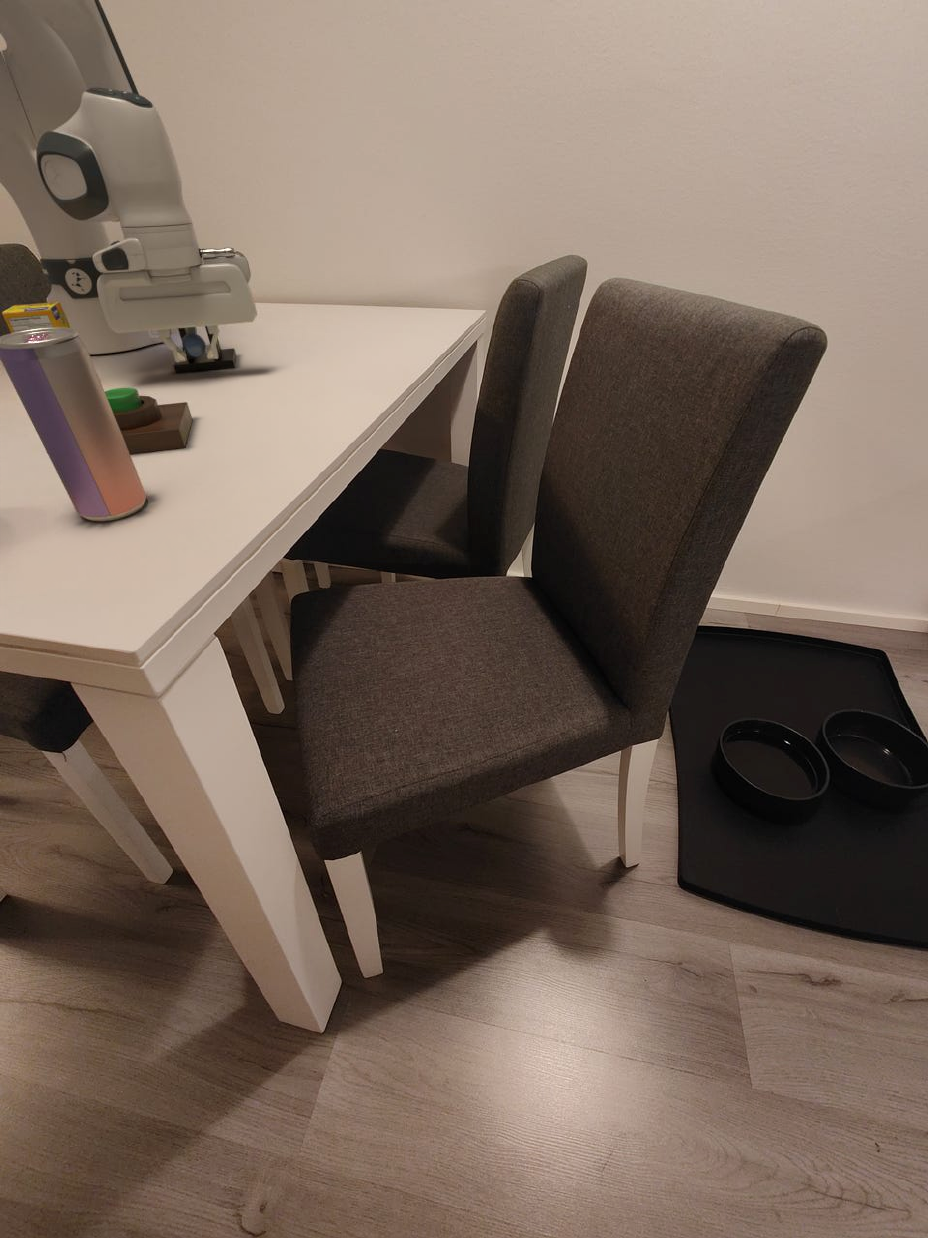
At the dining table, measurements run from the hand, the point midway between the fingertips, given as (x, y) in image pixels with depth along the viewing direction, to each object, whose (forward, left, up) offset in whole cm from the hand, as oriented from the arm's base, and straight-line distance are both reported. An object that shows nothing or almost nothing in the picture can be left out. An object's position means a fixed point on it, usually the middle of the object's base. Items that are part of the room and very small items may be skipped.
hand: (197, 359), depth 85 cm
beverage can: (+43, -5, -3) cm, 43 cm away
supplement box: (-2, -19, -3) cm, 20 cm away
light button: (+24, -6, +1) cm, 25 cm away
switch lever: (-6, 0, +3) cm, 6 cm away
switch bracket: (-9, 0, -3) cm, 9 cm away
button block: (+24, -6, -3) cm, 25 cm away
